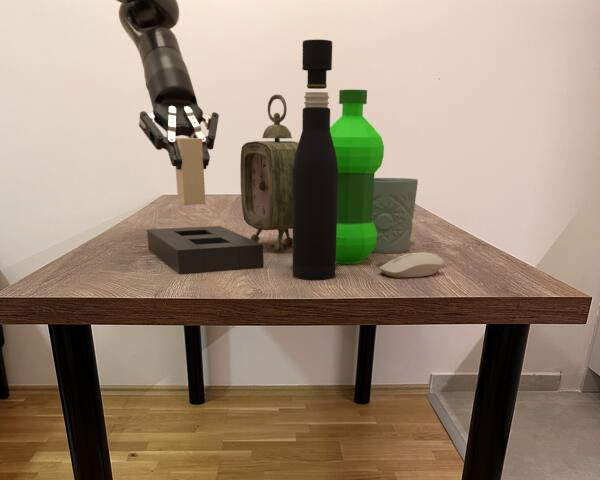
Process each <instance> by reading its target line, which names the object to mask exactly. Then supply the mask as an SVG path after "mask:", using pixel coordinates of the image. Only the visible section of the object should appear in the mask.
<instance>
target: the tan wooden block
mask: <svg viewBox="0 0 600 480" xmlns="http://www.w3.org/2000/svg"><path fill="white" fill-rule="evenodd" d="M175 143H177V144H178V147H179V151H180V155H181V158H182V166H181V170H177V169H176V168H175V176H176V177H175V178H176V192H177V203H180V204H181V205H184V206H187V205H206V188H205V186H206V185H205V169H204V168H203V150H202V138H188V137H176V138H175Z"/></svg>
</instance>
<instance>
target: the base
mask: <svg viewBox="0 0 600 480" xmlns="http://www.w3.org/2000/svg"><path fill="white" fill-rule="evenodd" d="M146 235H147V247H148V251H149V252H151V253H152V254H154V255H155V256H156V258H159V259H160V261H162V262H163V263H165V264H166V265H168V266H169V267H170V268H171V269H172V270H174V271H175V272H176V273H177V274H179V275H183V274H196V273H197V274H198V273H211V272H221V271H234V270H248V269H259V268H265V266H264V265H265V264H264V262H265V261H264V244H262V243H260V242H259V241H258V242H256V241H253V240H251V238H249V237H246V236H244V235H242V234H239V233H237V232H235V231H232V230H230V229H228V228H226V227H223V226H222V225H212V226H211V225H209V226H191V227H190V226H189V227H172V228H171V227H170V228H169V227H168V228H150V229H146Z"/></svg>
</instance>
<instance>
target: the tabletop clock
mask: <svg viewBox="0 0 600 480" xmlns="http://www.w3.org/2000/svg"><path fill="white" fill-rule="evenodd" d="M275 100H280V102H281V103H282V105H283V112H282V115H281V114H280V113H279V112H275V113H274V114H273V115H272V114H271V107H272V104H273V102H274V101H275ZM287 110H288V109H287V102H286V100H285V98H284V97H283V95H281V94H274V95H271V97H270V98H269V100H268V103H267V115H268V119H269V120H270V121H271V122H272V123H273V124H271V125H269V126H267V127H266V128H265V129H264V131H263V134H262V139H274V140H272V141H271V140H269V141H268V140H266V141H265V140H264V141H263V140H260V141H259V140H256V141H255V140H254V141H248V142H246V143H244V144H243V145H242V146H241V150H240V163H239V165H240V166H239V167H240V197H241V208H242V215H243V220H244V221H245V223H246V224H247V225H248V226H250V227H251V228H253V229H256V230H257V231H256V233H255V234H254V233H253V234H252V235H251V236H250V239H251V240H253V241H256V242H258V243H259V242H260V237H259V236H260V234H261V233H262V231H277V232H278V235H277V242H276V243H275V244H274V246H273V249H274V250H275V252H277V253H281V252H282V251H283V250H284V245H283V243H282V241H283V237H284V234H285V237H286V238H285V239H284V244H285V246H287V247H293V237H290V231H289V230H293V166H294V160H295V155H296V150H297V147H298V143H299V141H294V140H281V139H293V136H292V133H291V130H290V129H289V128H288V127H287V126H286V125H283V124H281V122H283V121H284V120H285V119H286V115H287Z"/></svg>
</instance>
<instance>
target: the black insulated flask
mask: <svg viewBox="0 0 600 480" xmlns="http://www.w3.org/2000/svg"><path fill="white" fill-rule="evenodd" d="M332 65H333V41H332V40H329V39H305V40H303V41H302V67H301V69H302V71H306V72H307V80H306V81H307V84H306V87H307V89H311V90H325V89H327V87H328V85H327V72H328V71H332V70H333V66H332ZM329 99H330V96H329V92H326V91H325V92H324V91H306V92H305V95H304V100H305V101H304V102H303V104H304V106H305V107H302V121H301V123H302V125H301V127H302V128H301V129H302V131H301V134H300V137H299V141H298V142H299V143H298V147H297V150H296V155H295V160H294V166H293V229H292V239H293V245H292V277H294V278H297V279H300V280H309V281H310V280H311V281H320V280H321V281H322V280H329V279H333V278H335V277H336V271H337V270H336V266H337V263H336V236H337V203H338V164H337V158H336V152H335V148H334V144H333V140H332V137H331V133H330V127H331V108H330V107H329V104H330V102H329Z"/></svg>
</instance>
